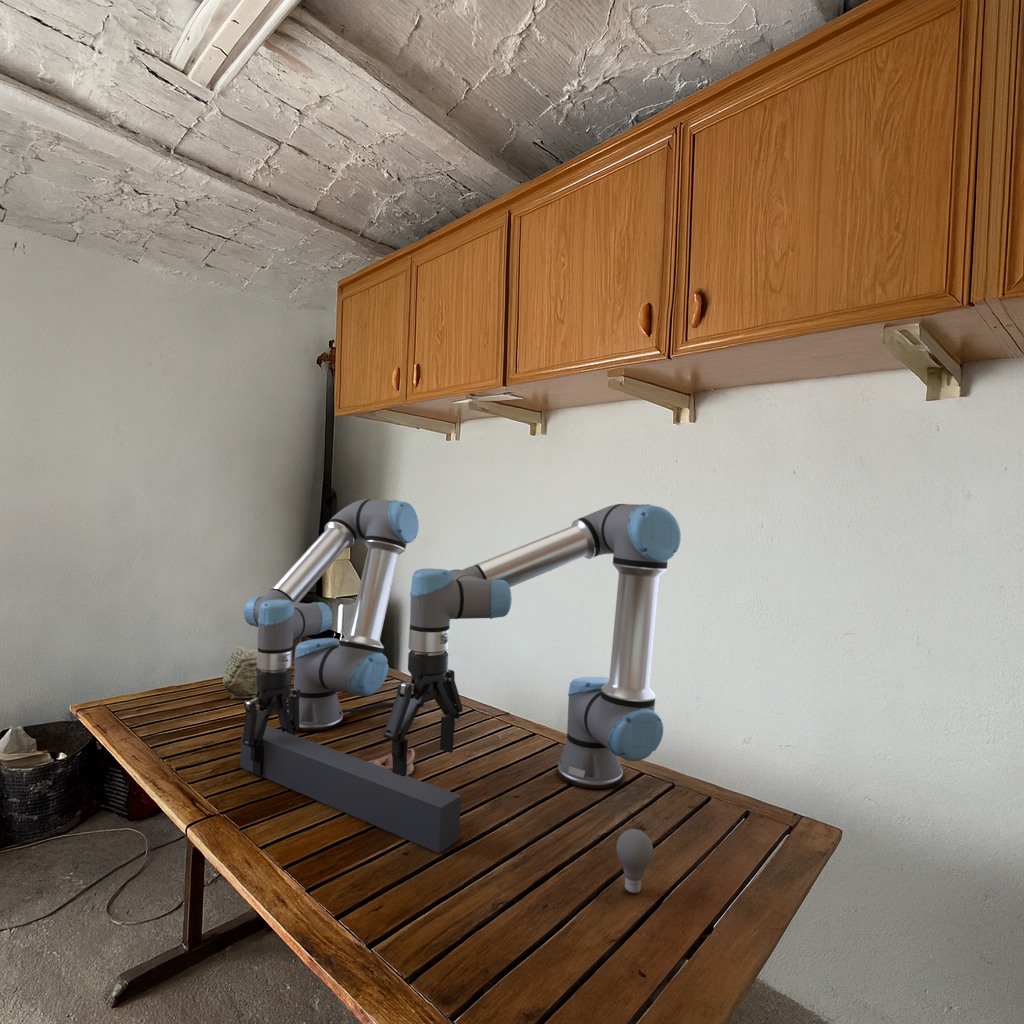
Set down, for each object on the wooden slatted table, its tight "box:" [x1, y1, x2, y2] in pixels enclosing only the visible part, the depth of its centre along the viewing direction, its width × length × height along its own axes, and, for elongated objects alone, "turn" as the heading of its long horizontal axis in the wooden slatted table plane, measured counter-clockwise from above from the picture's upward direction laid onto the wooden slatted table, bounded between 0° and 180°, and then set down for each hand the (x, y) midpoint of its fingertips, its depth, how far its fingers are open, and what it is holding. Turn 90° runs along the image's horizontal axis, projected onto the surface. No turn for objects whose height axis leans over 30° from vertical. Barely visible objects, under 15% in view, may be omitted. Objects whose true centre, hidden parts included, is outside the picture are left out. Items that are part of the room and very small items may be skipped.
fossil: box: [222, 646, 259, 699], centre depth 198 cm, size 9×18×15 cm, turn 132°
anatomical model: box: [367, 748, 416, 776], centre depth 147 cm, size 13×4×12 cm
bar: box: [239, 724, 462, 854], centre depth 133 cm, size 59×6×8 cm, turn 57°
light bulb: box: [615, 828, 654, 894], centre depth 106 cm, size 6×6×10 cm
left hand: (270, 768), depth 145 cm, fingers closed on bar, 6 cm apart
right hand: (423, 762), depth 120 cm, fingers open, 13 cm apart
